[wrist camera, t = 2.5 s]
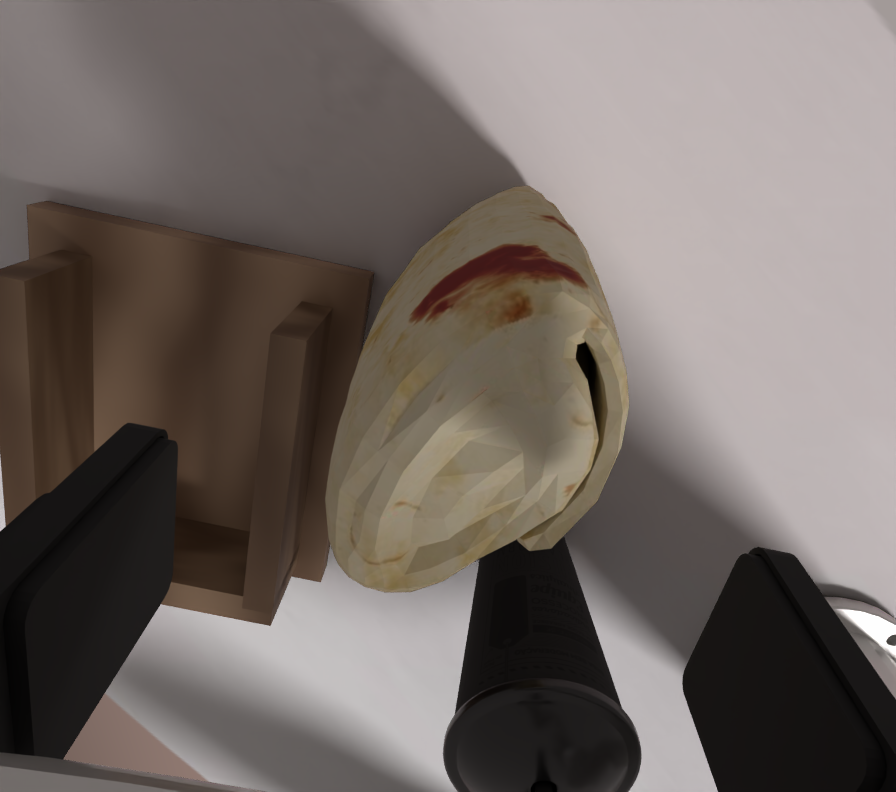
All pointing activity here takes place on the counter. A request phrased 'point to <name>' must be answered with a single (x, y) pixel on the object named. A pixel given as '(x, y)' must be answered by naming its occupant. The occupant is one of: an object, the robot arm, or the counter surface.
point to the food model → (478, 401)
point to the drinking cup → (536, 686)
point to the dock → (185, 387)
